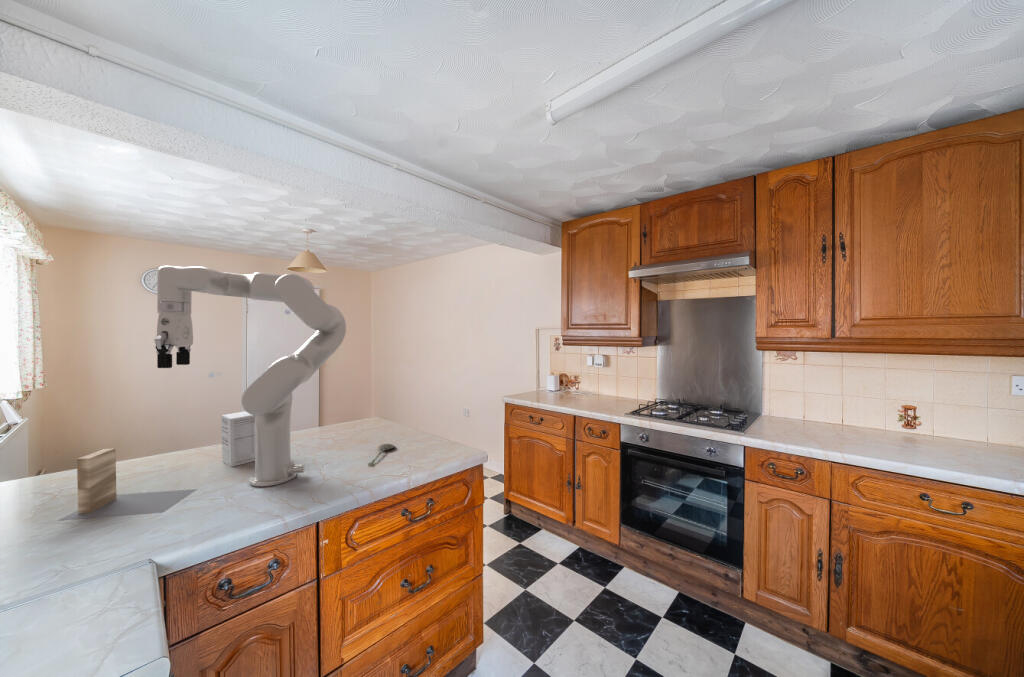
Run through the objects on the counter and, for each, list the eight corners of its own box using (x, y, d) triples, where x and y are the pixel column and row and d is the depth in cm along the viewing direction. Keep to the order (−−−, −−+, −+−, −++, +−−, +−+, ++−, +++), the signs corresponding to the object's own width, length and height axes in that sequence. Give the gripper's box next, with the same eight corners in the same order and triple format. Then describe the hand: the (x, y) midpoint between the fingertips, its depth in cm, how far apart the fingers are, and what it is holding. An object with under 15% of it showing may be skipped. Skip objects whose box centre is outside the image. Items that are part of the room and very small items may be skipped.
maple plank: (116, 498, 103) (115, 448, 103) (90, 512, 95) (88, 458, 95) (104, 499, 102) (103, 448, 102) (77, 513, 95) (75, 458, 94)
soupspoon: (398, 449, 152) (382, 449, 152) (397, 440, 152) (381, 441, 152) (379, 467, 130) (360, 467, 130) (379, 457, 130) (360, 458, 130)
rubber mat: (197, 490, 109) (197, 489, 109) (162, 514, 96) (162, 512, 96) (107, 496, 105) (107, 495, 105) (58, 522, 91) (58, 520, 91)
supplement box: (251, 454, 141) (251, 410, 140) (262, 459, 136) (261, 413, 135) (221, 461, 133) (220, 414, 133) (230, 467, 128) (230, 418, 127)
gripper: (174, 307, 104) (173, 369, 104) (203, 310, 120) (203, 363, 121) (140, 306, 102) (139, 369, 102) (175, 309, 118) (174, 363, 118)
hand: (174, 366), depth 111 cm, fingers open, 9 cm apart
